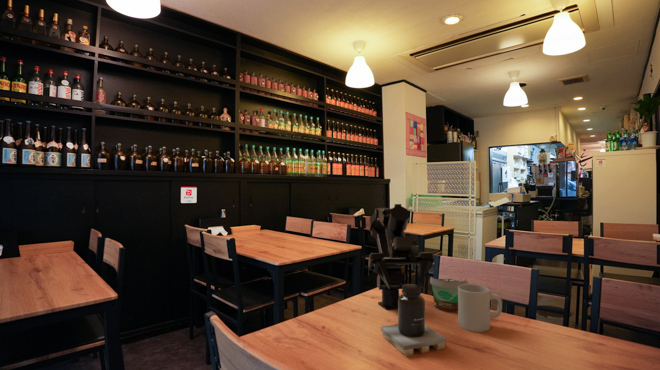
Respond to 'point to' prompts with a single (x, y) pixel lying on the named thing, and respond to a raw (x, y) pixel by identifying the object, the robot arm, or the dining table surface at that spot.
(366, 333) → the dining table surface
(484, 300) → the mug
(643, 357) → the dining table surface
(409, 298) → the supplement bottle
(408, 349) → the plate
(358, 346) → the dining table surface
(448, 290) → the food container
